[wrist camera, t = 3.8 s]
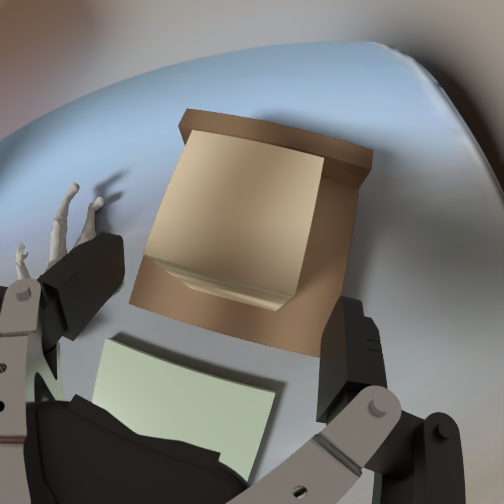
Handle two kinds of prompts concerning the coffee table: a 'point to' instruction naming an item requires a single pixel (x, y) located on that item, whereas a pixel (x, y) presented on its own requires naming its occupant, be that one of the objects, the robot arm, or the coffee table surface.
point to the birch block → (237, 218)
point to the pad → (183, 404)
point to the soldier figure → (62, 232)
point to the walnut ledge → (315, 258)
